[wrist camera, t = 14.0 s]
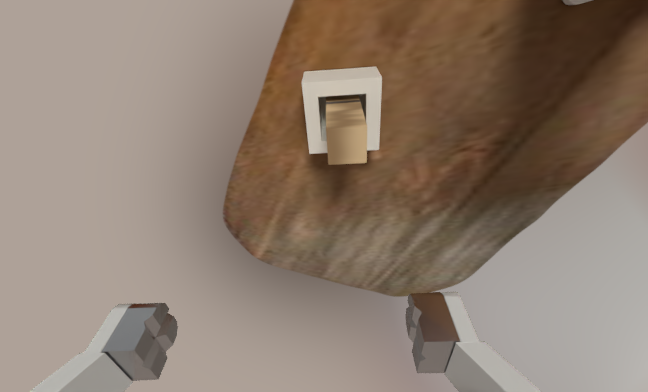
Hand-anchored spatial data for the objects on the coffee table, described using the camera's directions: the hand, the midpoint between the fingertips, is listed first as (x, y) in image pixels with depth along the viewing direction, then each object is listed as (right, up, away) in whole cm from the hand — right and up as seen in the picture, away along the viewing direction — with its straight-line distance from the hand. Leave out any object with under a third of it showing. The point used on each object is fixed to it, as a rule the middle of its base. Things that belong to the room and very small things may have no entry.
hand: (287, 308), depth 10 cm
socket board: (+4, +16, +30) cm, 35 cm away
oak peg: (+4, +16, +30) cm, 34 cm away
